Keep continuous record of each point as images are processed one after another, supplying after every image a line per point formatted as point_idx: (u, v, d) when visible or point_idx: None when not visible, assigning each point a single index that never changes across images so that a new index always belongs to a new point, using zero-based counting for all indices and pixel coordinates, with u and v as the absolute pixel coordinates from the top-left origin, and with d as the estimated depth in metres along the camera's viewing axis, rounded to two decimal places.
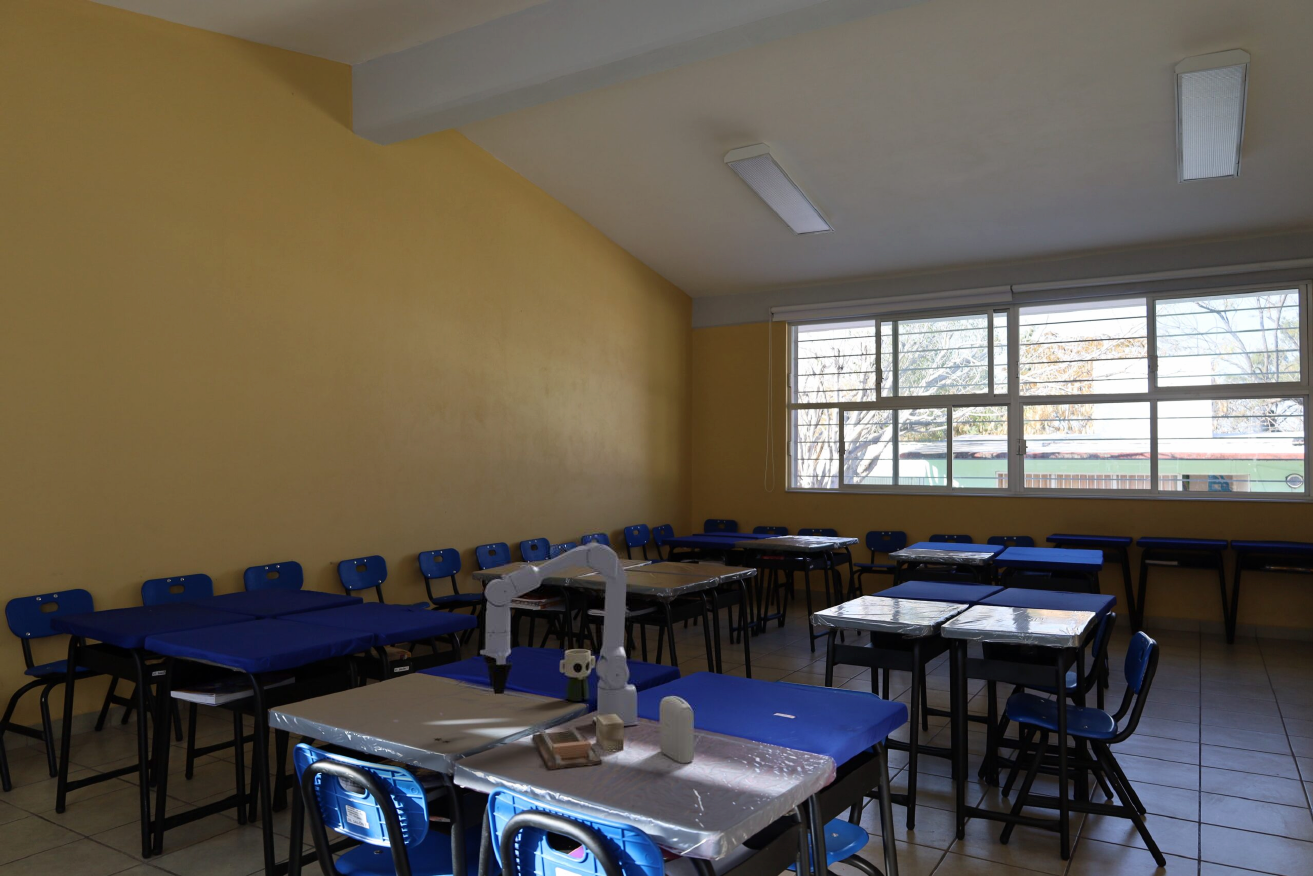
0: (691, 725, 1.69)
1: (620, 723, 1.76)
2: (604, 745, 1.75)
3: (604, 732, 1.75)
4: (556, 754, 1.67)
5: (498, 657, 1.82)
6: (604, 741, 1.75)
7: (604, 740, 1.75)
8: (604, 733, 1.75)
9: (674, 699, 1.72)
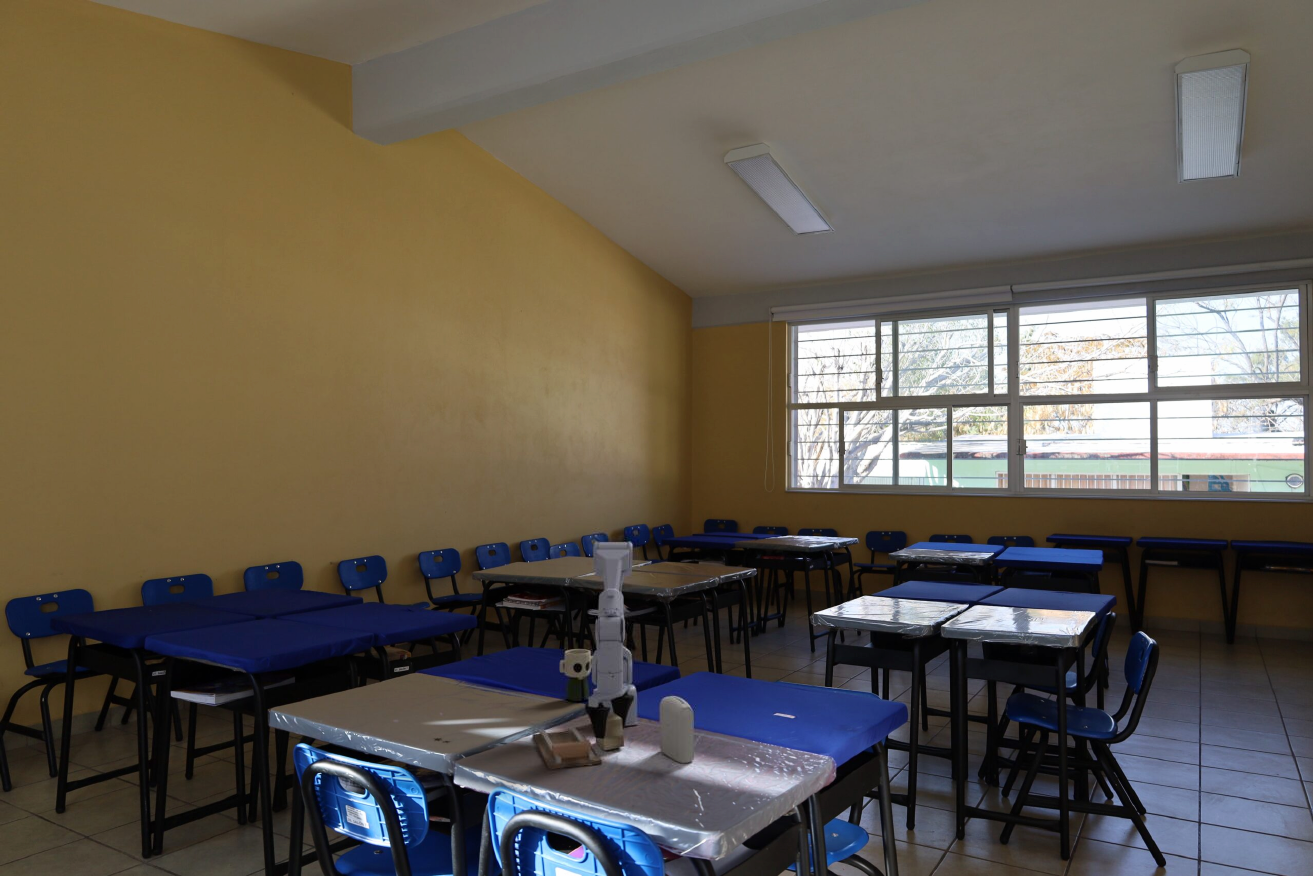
0: (691, 725, 1.69)
1: (618, 719, 1.76)
2: (604, 743, 1.75)
3: None
4: (556, 754, 1.67)
5: (589, 698, 1.73)
6: (604, 739, 1.75)
7: (604, 738, 1.75)
8: None
9: (674, 699, 1.72)
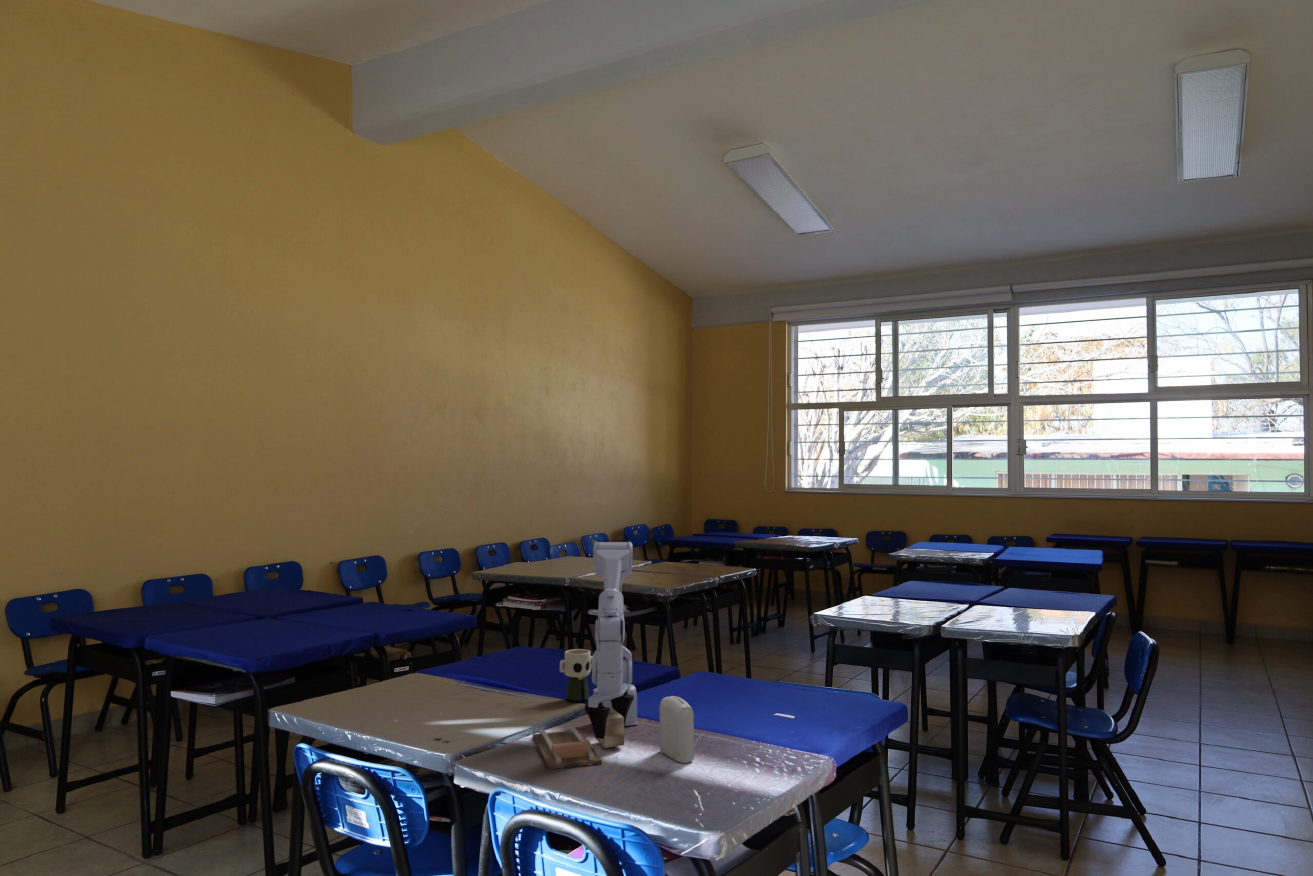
0: (691, 725, 1.69)
1: (620, 718, 1.77)
2: (605, 741, 1.75)
3: None
4: (556, 754, 1.67)
5: (589, 699, 1.73)
6: (605, 737, 1.75)
7: (605, 736, 1.75)
8: None
9: (674, 699, 1.72)
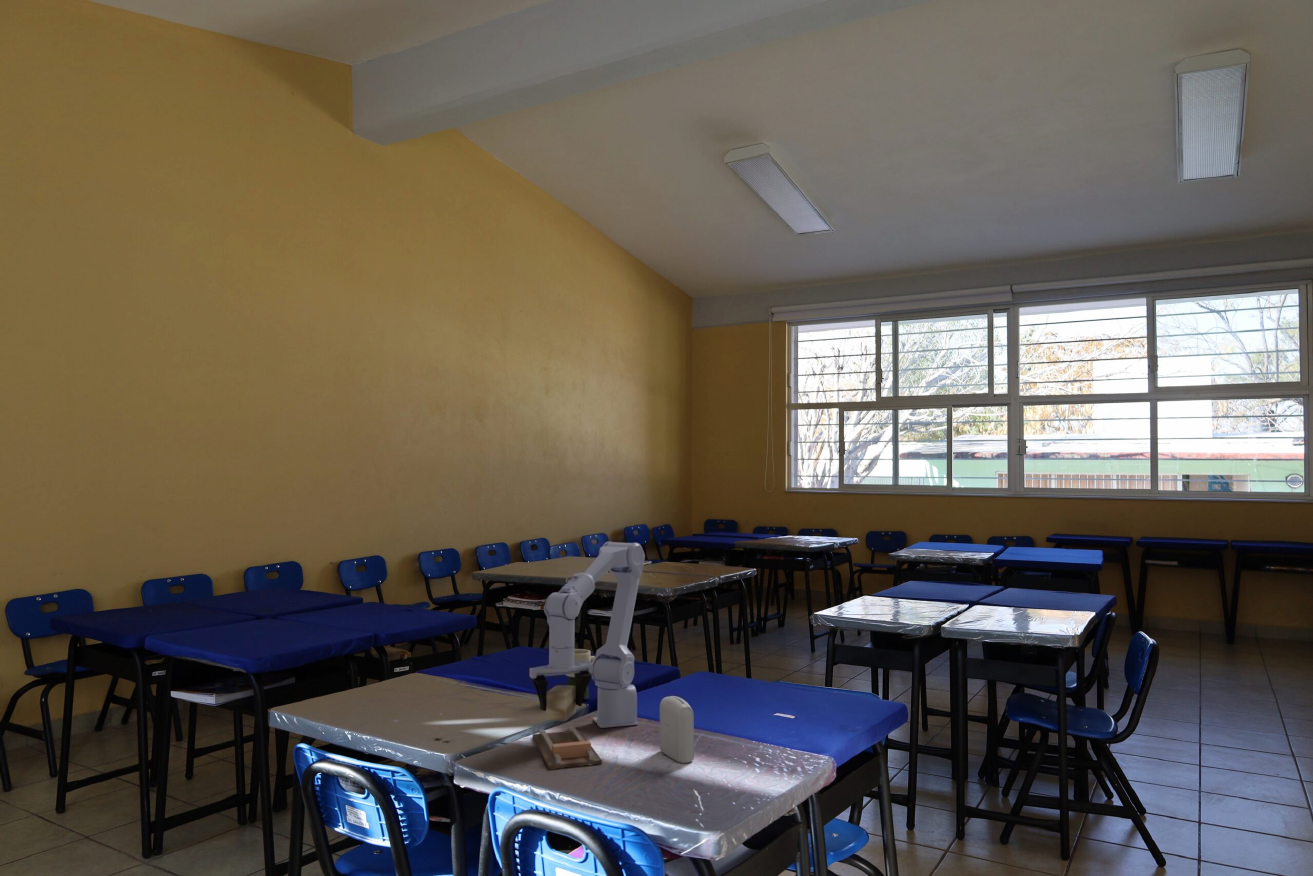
0: (691, 725, 1.69)
1: (562, 693, 1.78)
2: (547, 713, 1.78)
3: (547, 700, 1.78)
4: (556, 754, 1.67)
5: None
6: (547, 709, 1.78)
7: (547, 708, 1.78)
8: (547, 701, 1.78)
9: (674, 699, 1.72)
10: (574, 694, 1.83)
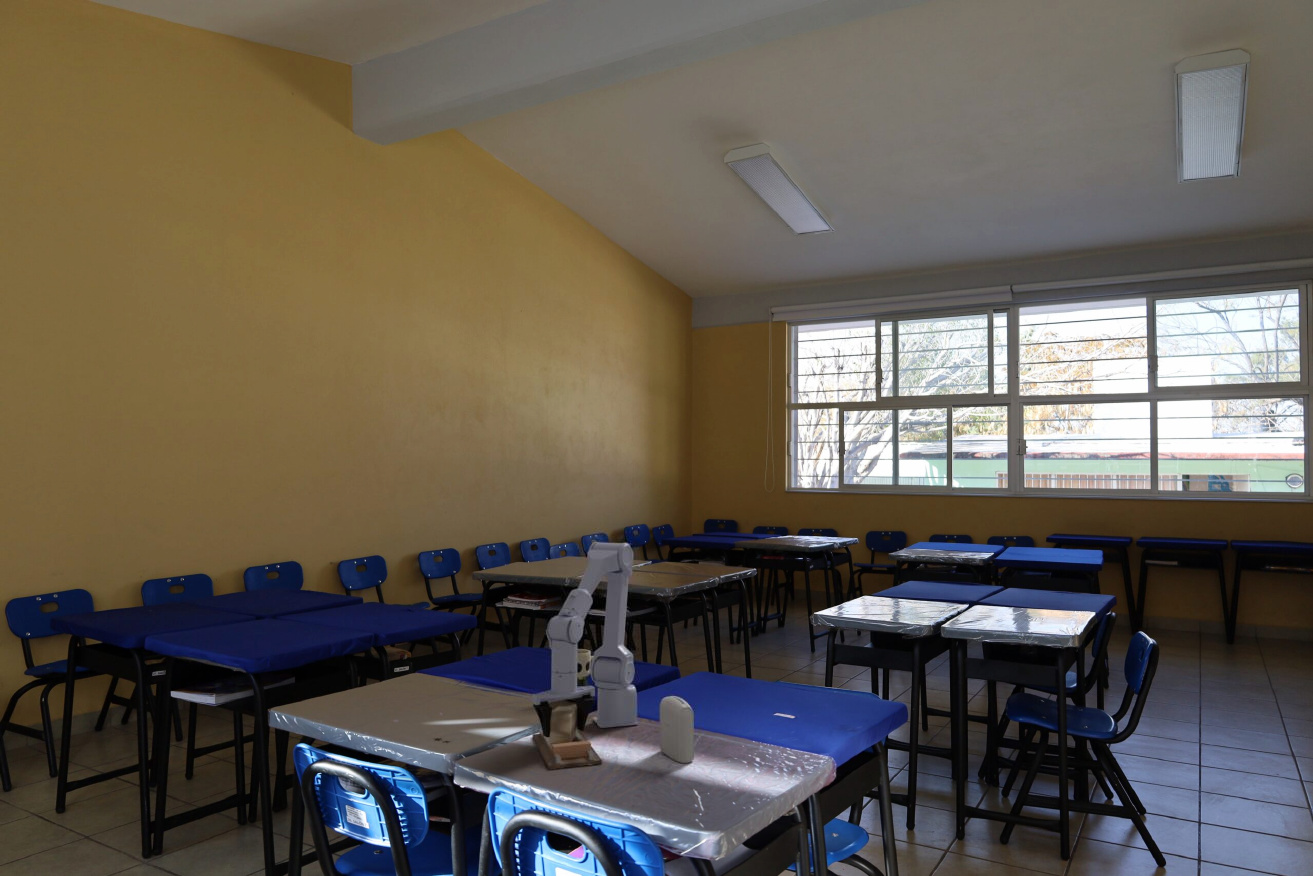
0: (691, 725, 1.69)
1: (567, 716, 1.74)
2: (550, 736, 1.74)
3: (550, 723, 1.75)
4: (556, 754, 1.67)
5: (532, 696, 1.75)
6: (550, 732, 1.75)
7: (550, 731, 1.75)
8: (550, 724, 1.75)
9: (674, 699, 1.72)
10: (576, 715, 1.80)
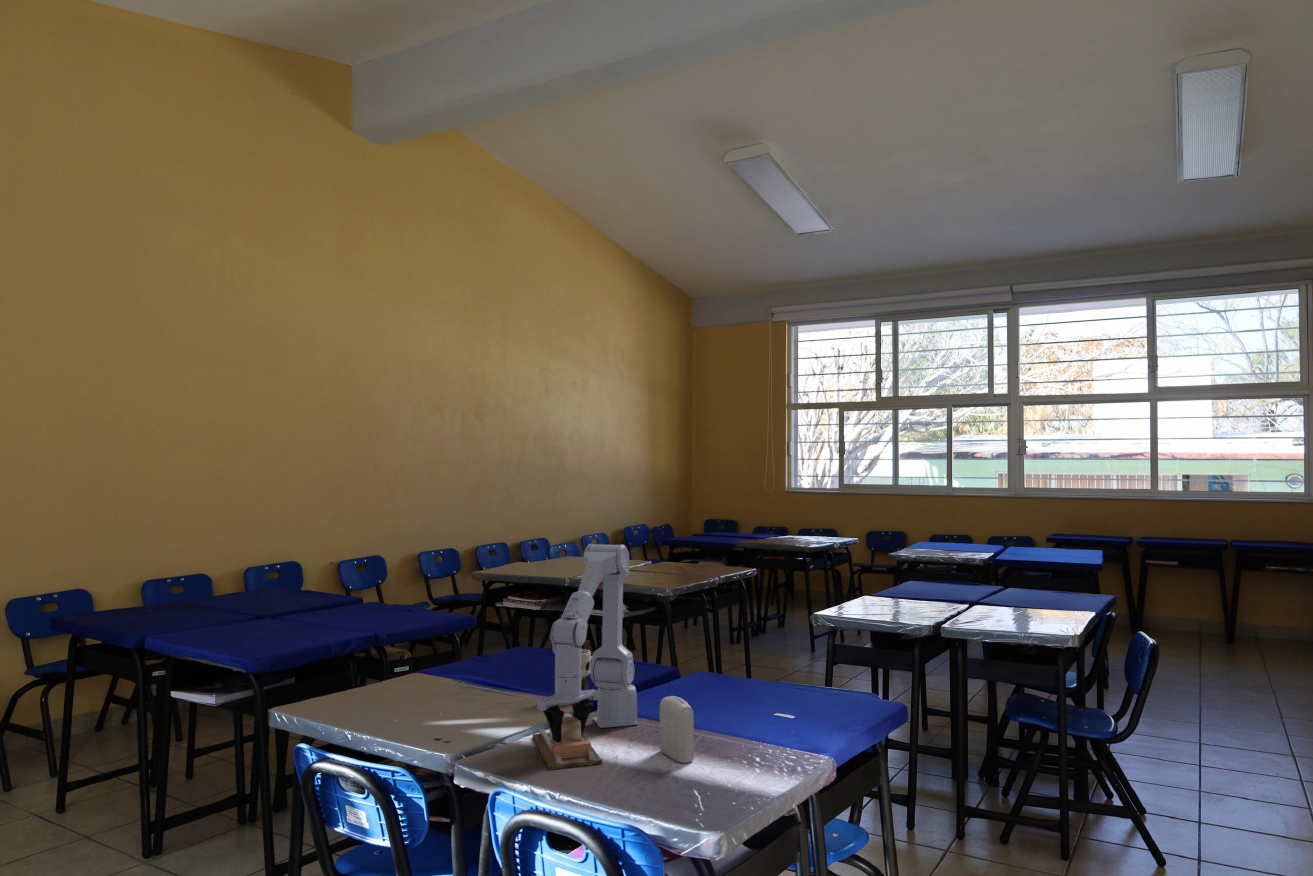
0: (691, 725, 1.69)
1: (577, 722, 1.73)
2: None
3: (562, 733, 1.71)
4: (556, 754, 1.67)
5: (537, 701, 1.70)
6: (562, 742, 1.71)
7: (562, 741, 1.71)
8: (562, 734, 1.71)
9: (674, 699, 1.72)
10: None
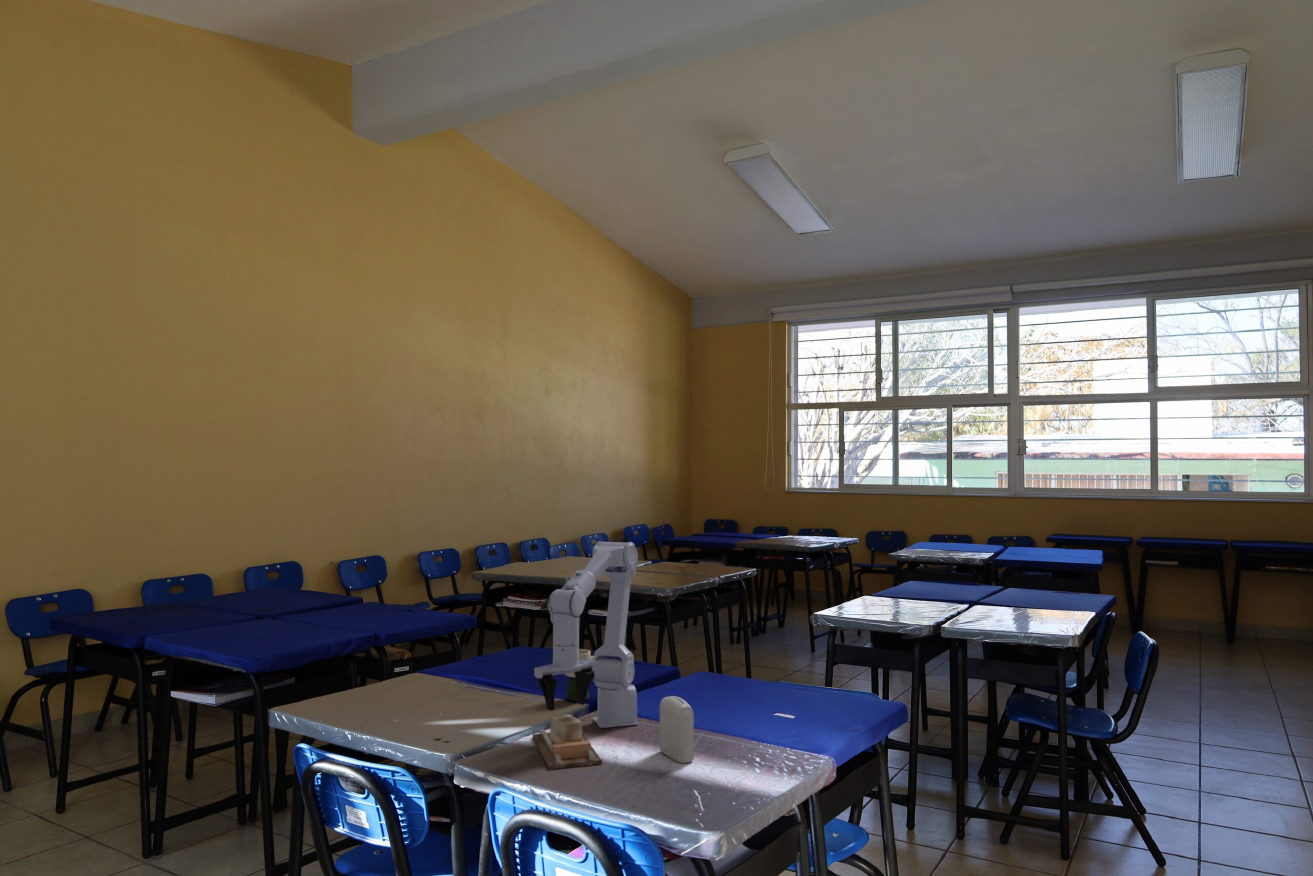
0: (691, 725, 1.69)
1: (579, 723, 1.73)
2: None
3: (563, 733, 1.71)
4: (556, 754, 1.67)
5: (535, 669, 1.74)
6: (563, 742, 1.71)
7: (563, 741, 1.71)
8: (563, 734, 1.71)
9: (674, 699, 1.72)
10: None
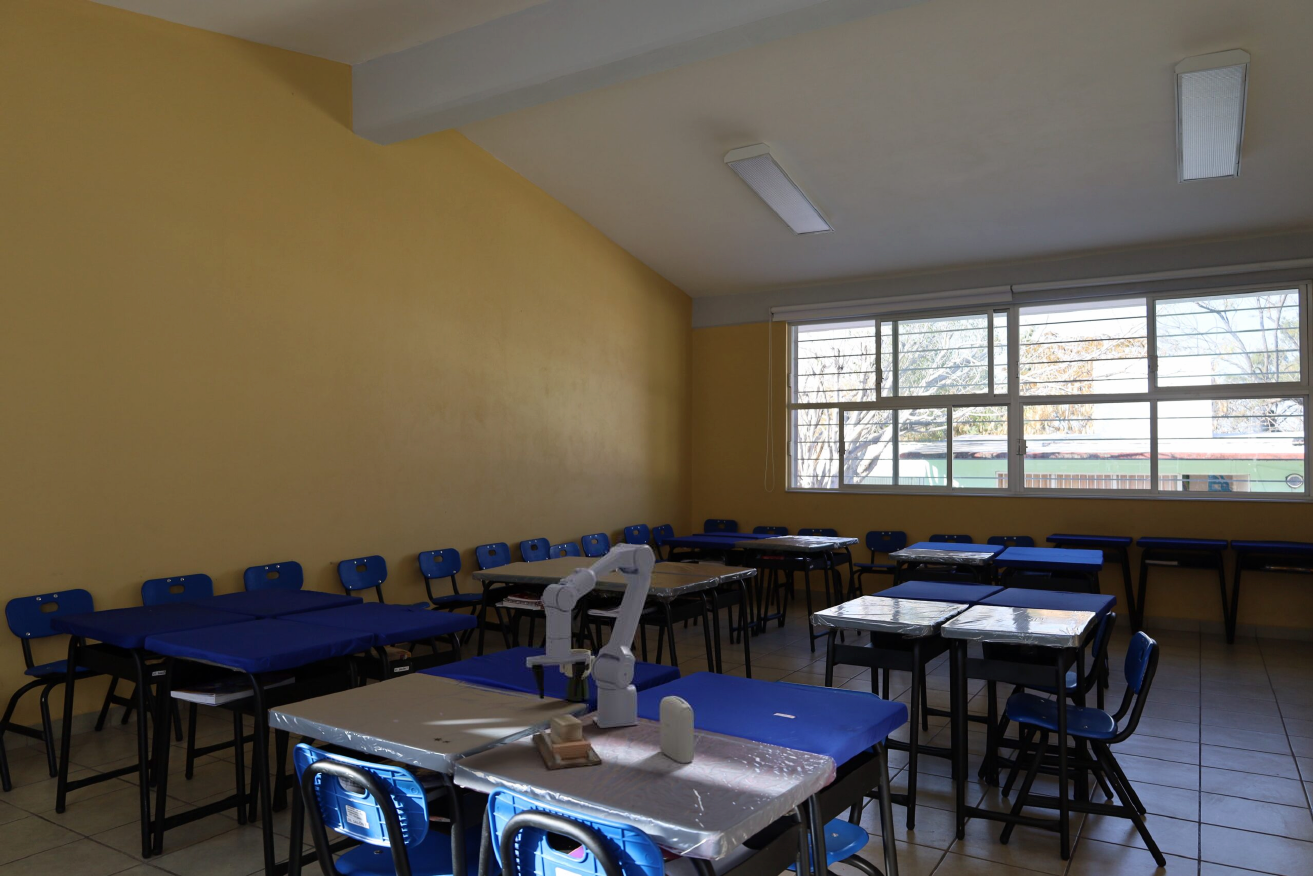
0: (691, 725, 1.69)
1: (579, 723, 1.73)
2: None
3: (563, 733, 1.71)
4: (556, 754, 1.67)
5: None
6: (563, 742, 1.71)
7: (563, 741, 1.71)
8: (563, 734, 1.71)
9: (674, 699, 1.72)
10: None
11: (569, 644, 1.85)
